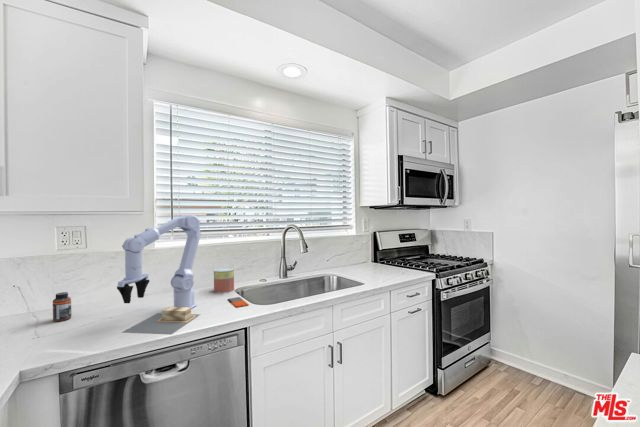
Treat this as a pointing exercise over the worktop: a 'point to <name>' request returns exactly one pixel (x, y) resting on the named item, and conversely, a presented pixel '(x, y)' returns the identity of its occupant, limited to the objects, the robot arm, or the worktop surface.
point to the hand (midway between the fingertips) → (134, 300)
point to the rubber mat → (159, 325)
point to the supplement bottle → (61, 307)
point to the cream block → (176, 313)
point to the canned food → (223, 280)
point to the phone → (237, 302)
